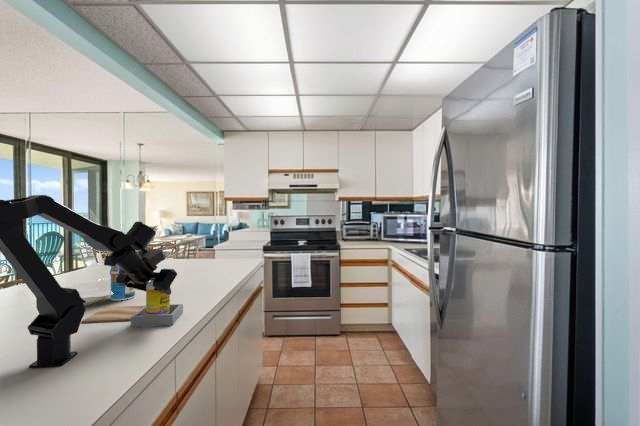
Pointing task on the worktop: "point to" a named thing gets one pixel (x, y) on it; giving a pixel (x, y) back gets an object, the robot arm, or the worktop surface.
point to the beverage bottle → (118, 290)
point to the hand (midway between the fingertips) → (161, 292)
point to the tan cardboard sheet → (113, 314)
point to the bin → (156, 317)
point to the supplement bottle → (156, 301)
